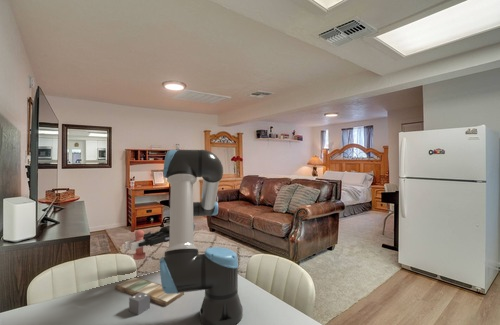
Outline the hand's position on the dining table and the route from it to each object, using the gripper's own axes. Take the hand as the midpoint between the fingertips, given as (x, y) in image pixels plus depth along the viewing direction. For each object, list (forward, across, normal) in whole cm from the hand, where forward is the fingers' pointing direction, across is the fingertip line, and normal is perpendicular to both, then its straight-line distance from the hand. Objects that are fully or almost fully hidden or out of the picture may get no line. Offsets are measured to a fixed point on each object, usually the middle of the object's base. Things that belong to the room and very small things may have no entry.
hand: (128, 246), depth 105 cm
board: (-5, -6, -20) cm, 21 cm away
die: (+6, -14, -20) cm, 25 cm away
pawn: (-6, 0, -7) cm, 9 cm away
